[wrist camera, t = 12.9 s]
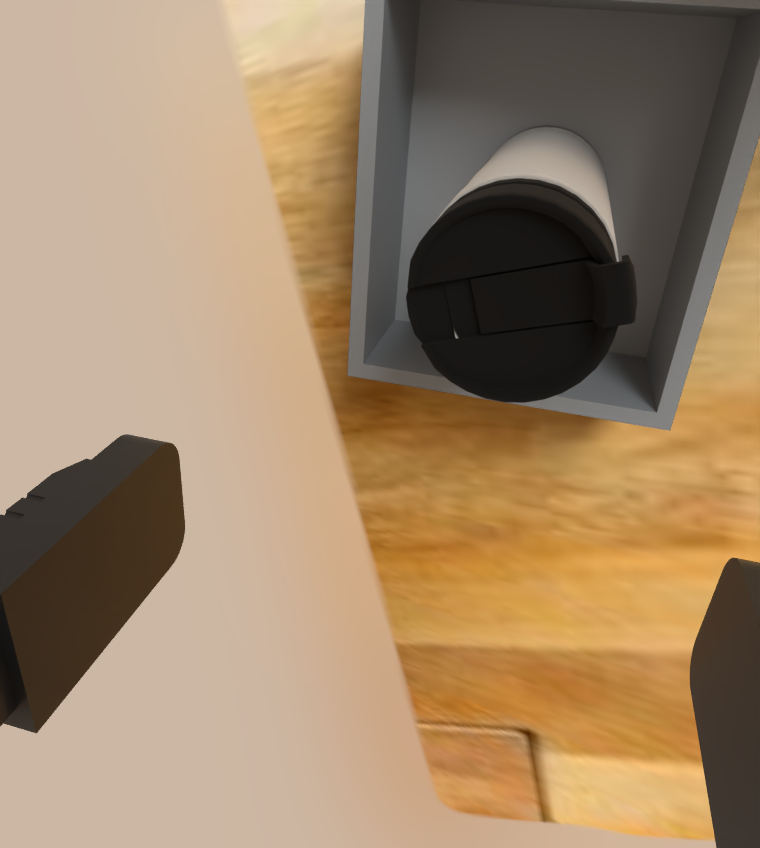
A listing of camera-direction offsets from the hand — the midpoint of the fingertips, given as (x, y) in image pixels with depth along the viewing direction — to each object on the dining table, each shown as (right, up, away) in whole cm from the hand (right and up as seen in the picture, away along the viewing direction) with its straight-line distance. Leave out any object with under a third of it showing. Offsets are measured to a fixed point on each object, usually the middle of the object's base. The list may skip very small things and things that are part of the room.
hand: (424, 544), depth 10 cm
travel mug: (+8, +14, +26) cm, 31 cm away
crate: (+8, +14, +27) cm, 32 cm away
